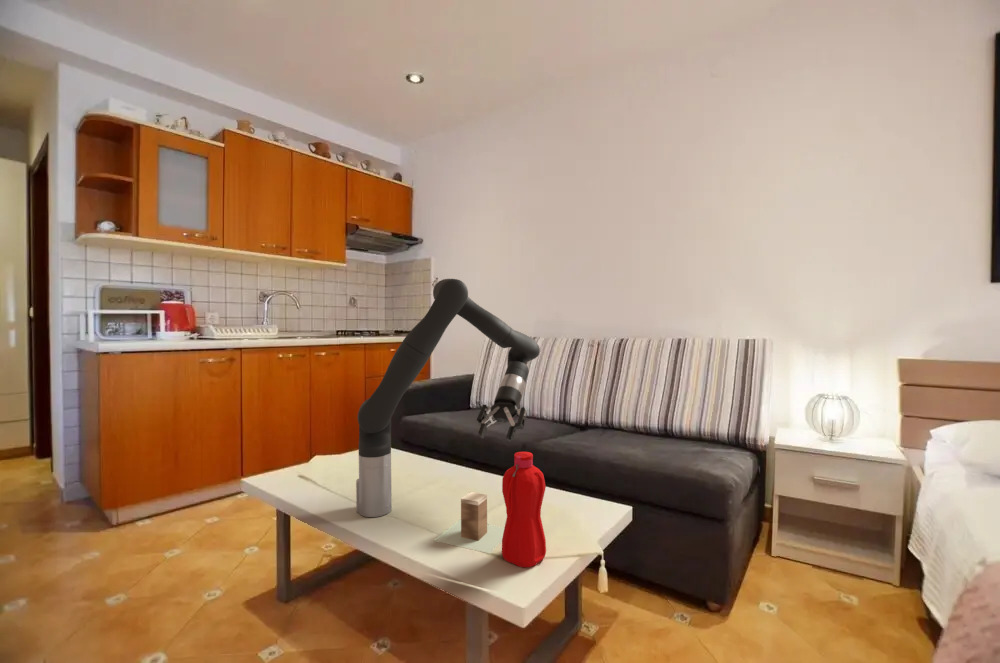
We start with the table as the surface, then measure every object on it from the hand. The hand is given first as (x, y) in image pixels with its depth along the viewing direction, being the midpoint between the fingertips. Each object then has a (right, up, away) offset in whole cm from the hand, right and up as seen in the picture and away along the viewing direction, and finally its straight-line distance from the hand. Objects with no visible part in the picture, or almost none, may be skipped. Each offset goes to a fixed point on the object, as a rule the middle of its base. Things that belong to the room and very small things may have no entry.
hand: (494, 438), depth 130 cm
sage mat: (-5, -23, -11) cm, 26 cm away
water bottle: (+7, -23, -23) cm, 33 cm away
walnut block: (-5, -23, -11) cm, 25 cm away
